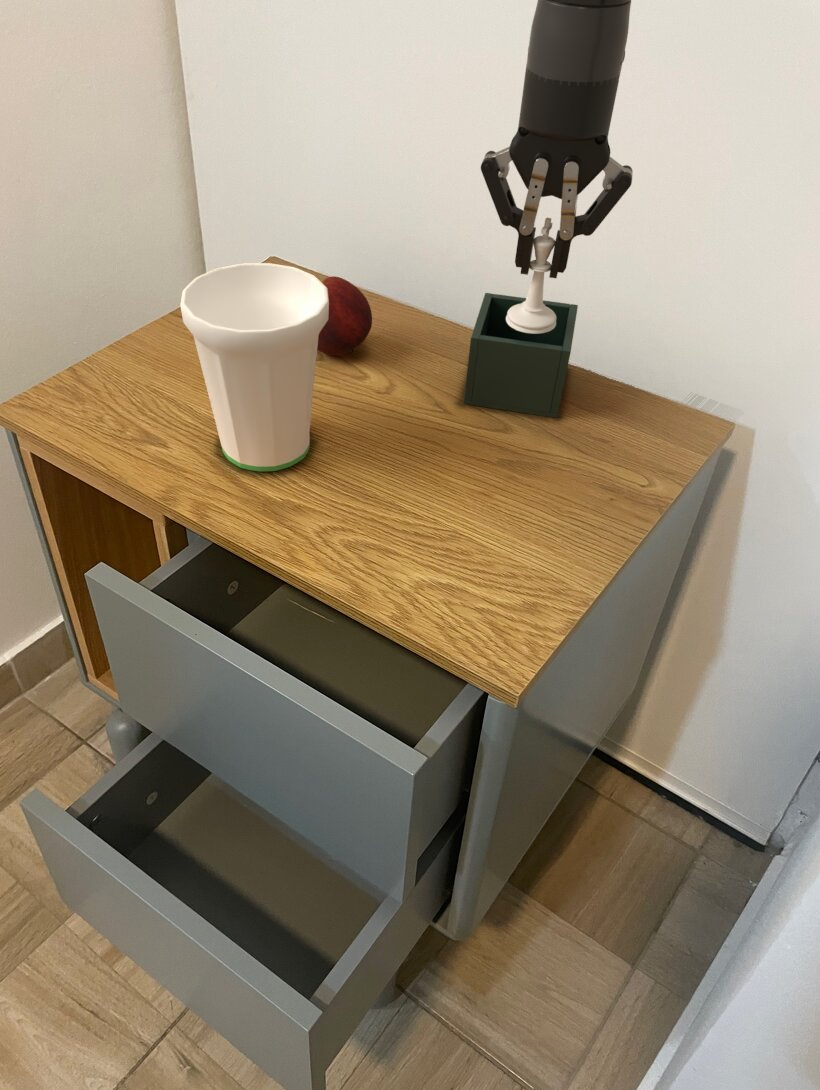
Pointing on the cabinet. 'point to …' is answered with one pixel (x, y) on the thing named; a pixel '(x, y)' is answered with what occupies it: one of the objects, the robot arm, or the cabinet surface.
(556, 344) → the bin
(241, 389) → the cup
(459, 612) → the cabinet surface
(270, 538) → the cabinet surface
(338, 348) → the apple
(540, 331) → the chess piece
